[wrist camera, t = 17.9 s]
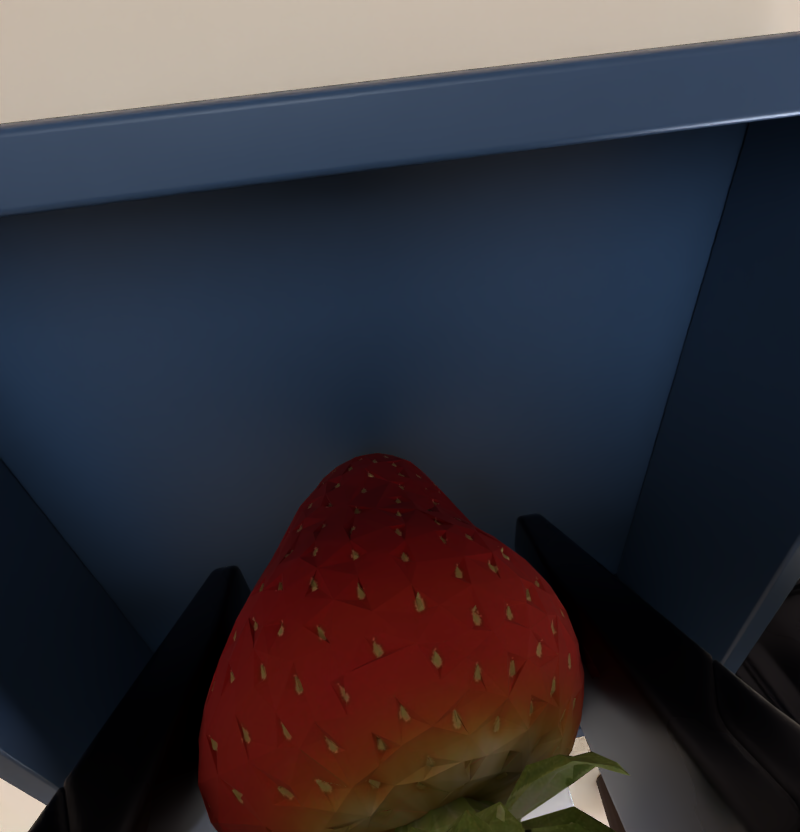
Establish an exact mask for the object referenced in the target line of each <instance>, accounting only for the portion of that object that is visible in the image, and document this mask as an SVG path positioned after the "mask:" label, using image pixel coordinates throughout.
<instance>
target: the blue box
mask: <svg viewBox="0 0 800 832" xmlns="http://www.w3.org/2000/svg"><path fill="white" fill-rule="evenodd" d="M375 453H381V454H388V455H393V456H396V457H399V458H402V459H405V460H407V461H410V462H411V463H413V464H414V465H415V466H416V467H418V468H419V469H420V470H421V471H423V472H424V473H425V474H426V475H427V476H428V477H429V478H430V480H431V481H432V482H433V483H434V484H435V485H436V486H437V487H438V488H439V489H440V490H441V491H442V492H443V493H444V494H445V495H446V496H447V497H448V498H449V499H450V500H451V502H452V503H453V504H454V505H455V506H456V507H457V508H458V509H459V510H460V511H461V512H462V513H463V514H464V515H465V516H466V517H467V518H468V520H469V521H470V522H471V523H472V524H473V525H474V526H476V527H477V528H479V529H481V530H482V531H484V532H486V533H488V534H490V535H492V536H494V537H495V538H497V539H498V540H499V541H501V542H502V543H503V544H505V545H506V546H508V547H509V548H510V549H512V550H513V551H514V552H515V533H516V521H517V518H518V517H519V516H522V515H528V514H534V513H538V514H540V515H542V516H543V517H545V518H546V519H547V520H548V521H549V522H551V523H552V524H553V525H554V526H555V527H557V528H558V529H559V530H560V531H562V532H563V533H564V534H565V535H566V536H568V537H569V538H570V539H571V540H572V541H574V542H575V543H576V544H577V545H578V546H580V547H581V548H582V549H583V550H584V551H586V552H587V553H588V554H589V555H590V556H592V557H593V558H594V559H595V560H597V561H598V562H599V563H600V564H601V565H603V566H604V567H605V568H606V569H607V570H609V571H610V572H611V573H612V574H613V575H615V576H616V577H617V578H618V579H619V580H621V581H622V582H623V583H624V584H626V585H627V586H628V587H629V588H630V589H632V590H633V591H634V592H635V593H636V594H638V595H639V596H640V597H641V598H642V599H644V600H645V601H646V602H647V603H648V604H650V605H651V606H652V607H653V608H655V609H656V610H657V611H658V612H659V613H661V614H662V615H663V616H664V617H665V618H667V619H668V620H669V621H670V622H671V623H673V624H674V625H675V626H676V627H677V628H679V629H680V630H681V631H682V632H684V633H685V634H686V635H687V636H688V637H690V638H691V639H692V640H693V641H694V642H696V643H697V644H698V645H699V646H700V647H702V648H703V649H704V650H705V651H706V652H708V653H709V654H710V655H711V656H712V660H718V661H719V662H720V663H721V664H722V665H724V666H725V667H726V668H727V669H728V670H730V671H731V672H732V673H733V674H735V673H736V672H737V670H738V669H739V667H740V666H741V664H742V663H743V661H744V660H745V658H746V657H747V655H748V654H749V652H750V651H751V649H752V648H753V646H754V645H755V643H756V642H757V641H758V639H759V638H760V636H761V635H762V633H763V632H764V630H765V629H766V627H767V626H768V624H769V623H770V621H771V620H772V618H773V617H774V615H775V614H776V612H777V611H778V609H779V608H780V606H781V605H782V603H783V602H784V600H785V599H786V598H787V596H788V595H789V593H790V592H791V590H792V589H793V587H794V586H795V584H796V583H797V581H798V580H799V578H800V31H798V32H788V33H780V34H771V35H763V36H754V37H745V38H737V39H728V40H719V41H711V42H702V43H694V44H685V45H676V46H668V47H659V48H651V49H642V50H633V51H625V52H616V53H607V54H599V55H590V56H582V57H573V58H564V59H556V60H547V61H538V62H530V63H521V64H513V65H504V66H495V67H487V68H478V69H469V70H461V71H452V72H444V73H435V74H426V75H418V76H409V77H401V78H392V79H383V80H375V81H366V82H357V83H349V84H340V85H332V86H323V87H314V88H306V89H297V90H288V91H280V92H271V93H263V94H254V95H245V96H237V97H228V98H219V99H211V100H202V101H194V102H185V103H176V104H168V105H159V106H150V107H142V108H133V109H125V110H116V111H107V112H99V113H90V114H82V115H73V116H64V117H56V118H47V119H38V120H30V121H21V122H13V123H4V124H0V778H2V779H3V780H5V781H7V782H8V783H10V784H12V785H13V786H15V787H17V788H18V789H20V790H22V791H23V792H25V793H27V794H28V795H30V796H32V797H33V798H35V799H37V800H38V801H40V802H42V803H44V804H45V805H47V804H48V803H49V802H50V800H51V799H52V797H53V796H54V794H55V793H56V792H57V790H58V789H59V788H60V787H64V781H65V779H66V778H67V776H68V775H69V774H70V772H71V771H72V769H73V768H74V766H75V765H76V764H77V762H78V761H79V759H80V758H81V757H82V755H83V754H84V752H85V751H86V749H87V748H88V747H89V745H90V744H91V742H92V741H93V740H94V738H95V737H96V735H97V734H98V732H99V731H100V730H101V728H102V727H103V725H104V724H105V722H106V721H107V720H108V718H109V717H110V715H111V714H112V713H113V711H114V710H115V708H116V707H117V705H118V704H119V703H120V701H121V700H122V698H123V697H124V696H125V694H126V693H127V691H128V690H129V688H130V687H131V686H132V684H133V683H134V681H135V680H136V679H137V677H138V676H139V674H140V673H141V671H142V670H143V669H144V667H145V666H146V664H147V663H148V661H149V660H150V659H151V657H152V656H153V654H154V653H155V652H156V650H157V649H158V647H159V646H160V644H161V643H162V642H163V640H164V639H165V637H166V636H167V635H168V633H169V632H170V630H171V629H172V627H173V626H174V625H175V623H176V622H177V620H178V619H179V618H180V616H181V615H182V613H183V612H184V610H185V609H186V608H187V606H188V605H189V603H190V602H191V600H192V599H193V598H194V596H195V595H196V593H197V592H198V591H199V589H200V588H201V586H202V585H203V583H204V582H205V581H206V579H207V578H208V576H209V575H210V574H211V572H212V571H213V570H215V569H217V568H221V567H227V566H233V565H236V566H238V567H239V568H240V570H241V572H242V574H243V576H244V578H245V580H246V583H247V585H248V587H249V589H250V591H251V592H252V590H253V589H254V587H255V585H256V583H257V582H258V580H259V578H260V577H261V575H262V574H263V572H264V571H265V569H266V567H267V566H268V564H269V563H270V561H271V559H272V558H273V556H274V554H275V552H276V550H277V548H278V546H279V544H280V543H281V541H282V539H283V537H284V535H285V533H286V531H287V529H288V527H289V526H290V524H291V522H292V520H293V518H294V516H295V514H296V512H297V511H298V509H299V507H300V506H301V504H302V503H303V502H304V501H305V500H306V499H307V498H308V497H309V495H310V494H311V493H312V492H313V491H314V490H315V489H316V488H317V486H318V485H319V483H320V482H321V481H322V479H323V478H324V477H325V476H327V475H328V474H329V473H330V472H331V471H333V470H334V469H335V468H336V467H337V466H339V465H341V464H343V463H345V462H347V461H349V460H351V459H353V458H355V457H358V456H363V455H368V454H375ZM582 736H584V734H583V731H582V729H581V727H580V725H579V729H578V732H577V735H576V738H577V737H582Z"/></svg>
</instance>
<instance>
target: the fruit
mask: <svg viewBox="0 0 800 832" xmlns="http://www.w3.org/2000/svg"><path fill="white" fill-rule="evenodd" d="M583 699H584V669H583V665H582V660H581V656H580V651H579V642H578V640H577V637H576V635H575V632H574V630H573V627H572V624H571V622H570V619H569V617H568V614H567V612H566V610H565V608H564V606H563V605H562V603H561V602H560V600H559V599H558V597H557V595H556V594H555V592H554V591H553V589H552V588H551V586H550V585H549V584H548V583H547V581H546V580H545V579H544V578H543V577H542V576H541V575H540V574H539V573H538V572H537V571H536V570H535V569H534V568H533V567H532V566H531V565H530V564H529V563H528V562H527V561H526V560H525V559H524V558H523V557H521V556H520V555H518V554H517V553H516V552H514V551H513V550H512V549H510V548H509V547H508V546H506V545H505V544H503V543H502V542H501V541H499V540H498V539H497V538H495V537H494V536H492V535H490V534H488V533H486V532H484V531H482V530H481V529H479V528H477V527H476V526H474V525H473V524H472V523H471V522H470V521H469V520H468V518H467V517H466V516H465V515H464V514H463V513H462V512H461V511H460V510H459V509H458V508H457V507H456V506H455V505H454V504H453V503H452V502H451V500H450V499H449V498H448V497H447V496H446V495H445V494H444V493H443V492H442V491H441V490H440V489H439V488H438V487H437V486H436V485H435V484H434V483H433V482H432V481H431V480H430V478H429V477H428V476H427V475H426V474H425V473H424V472H423V471H421V470H420V469H419V468H418V467H416V466H415V465H414V464H413V463H411V462H410V461H407V460H405V459H402V458H399V457H396V456H393V455H388V454H381V453H375V454H368V455H363V456H358V457H355V458H353V459H351V460H349V461H347V462H345V463H343V464H341V465H339V466H337V467H336V468H335V469H334V470H333V471H331V472H330V473H329V474H328V475H327V476H325V477H324V478H323V479H322V481H321V482H320V483H319V485H318V486H317V488H316V489H315V490H314V491H313V492H312V493H311V494H310V495H309V497H308V498H307V499H306V500H305V501H304V502H303V503H302V504H301V506H300V507H299V509H298V511H297V512H296V514H295V516H294V518H293V520H292V522H291V524H290V526H289V527H288V529H287V531H286V533H285V535H284V537H283V539H282V541H281V543H280V544H279V546H278V548H277V550H276V552H275V554H274V556H273V558H272V559H271V561H270V563H269V564H268V566H267V567H266V569H265V571H264V572H263V574H262V575H261V577H260V578H259V580H258V582H257V583H256V585H255V587H254V589H253V590H252V592H251V594H250V596H249V597H248V599H247V601H246V603H245V605H244V606H243V608H242V610H241V612H240V614H239V615H238V617H237V619H236V621H235V624H234V626H233V628H232V631H231V633H230V636H229V638H228V640H227V643H226V645H225V647H224V650H223V652H222V654H221V657H220V659H219V662H218V665H217V668H216V671H215V674H214V676H213V679H212V682H211V685H210V688H209V692H208V695H207V698H206V701H205V705H204V710H203V716H202V721H201V727H200V733H199V738H198V742H199V765H198V786H199V789H200V792H201V795H202V798H203V801H204V804H205V807H206V810H207V813H208V816H209V819H210V822H211V824H212V825H213V827H214V828H215V829H216V830H217V831H218V832H616V831H614V830H613V829H611V828H609V827H608V826H606V825H604V824H603V823H601V822H599V821H598V820H596V819H594V818H593V817H591V816H589V815H588V814H586V813H584V812H583V811H581V810H579V809H578V808H576V807H574V806H572V807H569V808H566V809H562V810H559V811H555V812H552V813H549V814H545V815H542V816H539V817H535V818H532V819H528V820H525V821H522V822H521V819H522V818H523V817H524V816H526V815H527V814H529V813H530V812H531V811H533V810H534V809H536V808H537V807H539V806H540V805H542V804H543V803H545V802H546V801H548V800H549V799H551V798H552V797H554V796H555V795H557V794H558V793H559V792H561V791H562V790H564V789H565V788H567V787H568V786H570V785H571V784H573V783H574V782H575V781H577V780H578V779H579V778H581V777H582V776H584V775H585V774H586V773H588V772H589V771H590V770H592V769H593V768H594V767H600V768H603V769H607V770H611V771H614V772H618V773H621V774H625V775H629V774H628V773H627V772H626V771H625V770H624V769H623V768H622V767H621V766H620V765H619V764H618V763H617V762H615V761H613V760H610V759H608V758H606V757H603V756H601V755H599V754H597V753H594V752H588V753H584V754H580V755H576V756H569V754H570V753H571V751H572V748H573V745H574V742H575V738H576V735H577V732H578V729H579V725H580V722H581V717H582V708H583ZM629 776H630V775H629Z"/></svg>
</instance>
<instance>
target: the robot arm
mask: <svg viewBox="0 0 800 832" xmlns="http://www.w3.org/2000/svg"><path fill="white" fill-rule="evenodd" d="M515 552H516V553H517V554H518V555H520V556H521V557H523V558H524V559H525V560H526V561H527V562H528V563H529V564H530V565H531V566H532V567H533V568H534V569H535V570H536V571H537V572H538V573H539V574H540V575H541V576H542V577H543V578H544V579H545V580H546V581H547V583H548V584H549V585H550V586H551V588H552V589H553V591H554V592H555V594H556V595H557V597H558V599H559V600H560V602H561V603H562V605H563V606H564V608H565V610H566V612H567V614H568V617H569V619H570V622H571V624H572V627H573V630H574V632H575V635H576V637H577V640H578V642H579V651H580V656H581V660H582V665H583V669H584V699H583V708H582V717H581V722H580V727H581V729H582V731H583V734H584V736H585V738H586V741H587V743H588V745H589V747H590V750H591V752H594V753H597V754H599V755H601V756H603V757H606V758H608V759H610V760H613V761H615V762H617V763H618V764H619V765H620V766H621V767H622V768H623V769H624V770H625V771H626V772H627V773H628V774H629V775H630V776H629V775H625V774H621V773H618V772H614V771H611V770H607V769H603V768H600V767H598V768H599V771H600V773H601V775H602V778H603V780H604V782H605V785H606V787H607V789H608V791H609V794H610V796H611V798H612V801H613V803H614V805H615V808H616V810H617V812H618V815H619V817H620V819H621V822H622V824H623V826H624V828H625V831H626V832H800V578H799V580H798V581H797V583H796V584H795V586H794V587H793V589H792V590H791V592H790V593H789V595H788V596H787V598H786V599H785V600H784V602H783V603H782V605H781V606H780V608H779V609H778V611H777V612H776V614H775V615H774V617H773V618H772V620H771V621H770V623H769V624H768V626H767V627H766V629H765V630H764V632H763V633H762V635H761V636H760V638H759V639H758V641H757V642H756V643H755V645H754V646H753V648H752V649H751V651H750V652H749V654H748V655H747V657H746V658H745V660H744V661H743V663H742V664H741V666H740V667H739V669H738V670H737V672H736V673H735V674H733V673H732V672H731V671H730V670H728V669H727V668H726V667H725V666H724V665H722V664H721V663H720V662H719V661H718V660H712V656H711V655H710V654H709V653H708V652H706V651H705V650H704V649H703V648H702V647H700V646H699V645H698V644H697V643H696V642H694V641H693V640H692V639H691V638H690V637H688V636H687V635H686V634H685V633H684V632H682V631H681V630H680V629H679V628H677V627H676V626H675V625H674V624H673V623H671V622H670V621H669V620H668V619H667V618H665V617H664V616H663V615H662V614H661V613H659V612H658V611H657V610H656V609H655V608H653V607H652V606H651V605H650V604H648V603H647V602H646V601H645V600H644V599H642V598H641V597H640V596H639V595H638V594H636V593H635V592H634V591H633V590H632V589H630V588H629V587H628V586H627V585H626V584H624V583H623V582H622V581H621V580H619V579H618V578H617V577H616V576H615V575H613V574H612V573H611V572H610V571H609V570H607V569H606V568H605V567H604V566H603V565H601V564H600V563H599V562H598V561H597V560H595V559H594V558H593V557H592V556H590V555H589V554H588V553H587V552H586V551H584V550H583V549H582V548H581V547H580V546H578V545H577V544H576V543H575V542H574V541H572V540H571V539H570V538H569V537H568V536H566V535H565V534H564V533H563V532H562V531H560V530H559V529H558V528H557V527H555V526H554V525H553V524H552V523H551V522H549V521H548V520H547V519H546V518H545V517H543V516H542V515H540V514H538V513H534V514H528V515H522V516H519V517H518V518H517V521H516V533H515ZM250 594H251V591H250V589H249V587H248V585H247V583H246V580H245V578H244V576H243V574H242V572H241V570H240V568H239V567H238V566H236V565H233V566H227V567H221V568H217V569H215V570H213V571H212V572H211V574H210V575H209V576H208V578H207V579H206V581H205V582H204V583H203V585H202V586H201V588H200V589H199V591H198V592H197V593H196V595H195V596H194V598H193V599H192V600H191V602H190V603H189V605H188V606H187V608H186V609H185V610H184V612H183V613H182V615H181V616H180V618H179V619H178V620H177V622H176V623H175V625H174V626H173V627H172V629H171V630H170V632H169V633H168V635H167V636H166V637H165V639H164V640H163V642H162V643H161V644H160V646H159V647H158V649H157V650H156V652H155V653H154V654H153V656H152V657H151V659H150V660H149V661H148V663H147V664H146V666H145V667H144V669H143V670H142V671H141V673H140V674H139V676H138V677H137V679H136V680H135V681H134V683H133V684H132V686H131V687H130V688H129V690H128V691H127V693H126V694H125V696H124V697H123V698H122V700H121V701H120V703H119V704H118V705H117V707H116V708H115V710H114V711H113V713H112V714H111V715H110V717H109V718H108V720H107V721H106V722H105V724H104V725H103V727H102V728H101V730H100V731H99V732H98V734H97V735H96V737H95V738H94V740H93V741H92V742H91V744H90V745H89V747H88V748H87V749H86V751H85V752H84V754H83V755H82V757H81V758H80V759H79V761H78V762H77V764H76V765H75V766H74V768H73V769H72V771H71V772H70V774H69V775H68V776H67V778H66V779H65V781H64V787H60V788H59V789H58V790H57V792H56V793H55V794H54V796H53V797H52V799H51V800H50V802H49V803H48V804H47V806H46V807H45V809H44V810H43V811H42V813H41V814H40V816H39V817H38V819H37V820H36V821H35V823H34V824H33V825H32V827H31V828H30V830H29V831H28V832H218V831H217V830H216V829H215V828H214V827H213V825H212V824H211V822H210V819H209V816H208V813H207V810H206V807H205V804H204V801H203V798H202V795H201V792H200V789H199V786H198V765H199V742H198V738H199V733H200V727H201V721H202V716H203V710H204V705H205V701H206V698H207V695H208V692H209V688H210V685H211V682H212V679H213V676H214V674H215V671H216V668H217V665H218V662H219V659H220V657H221V654H222V652H223V650H224V647H225V645H226V643H227V640H228V638H229V636H230V633H231V631H232V628H233V626H234V624H235V621H236V619H237V617H238V615H239V614H240V612H241V610H242V608H243V606H244V605H245V603H246V601H247V599H248V597H249V596H250Z"/></svg>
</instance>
